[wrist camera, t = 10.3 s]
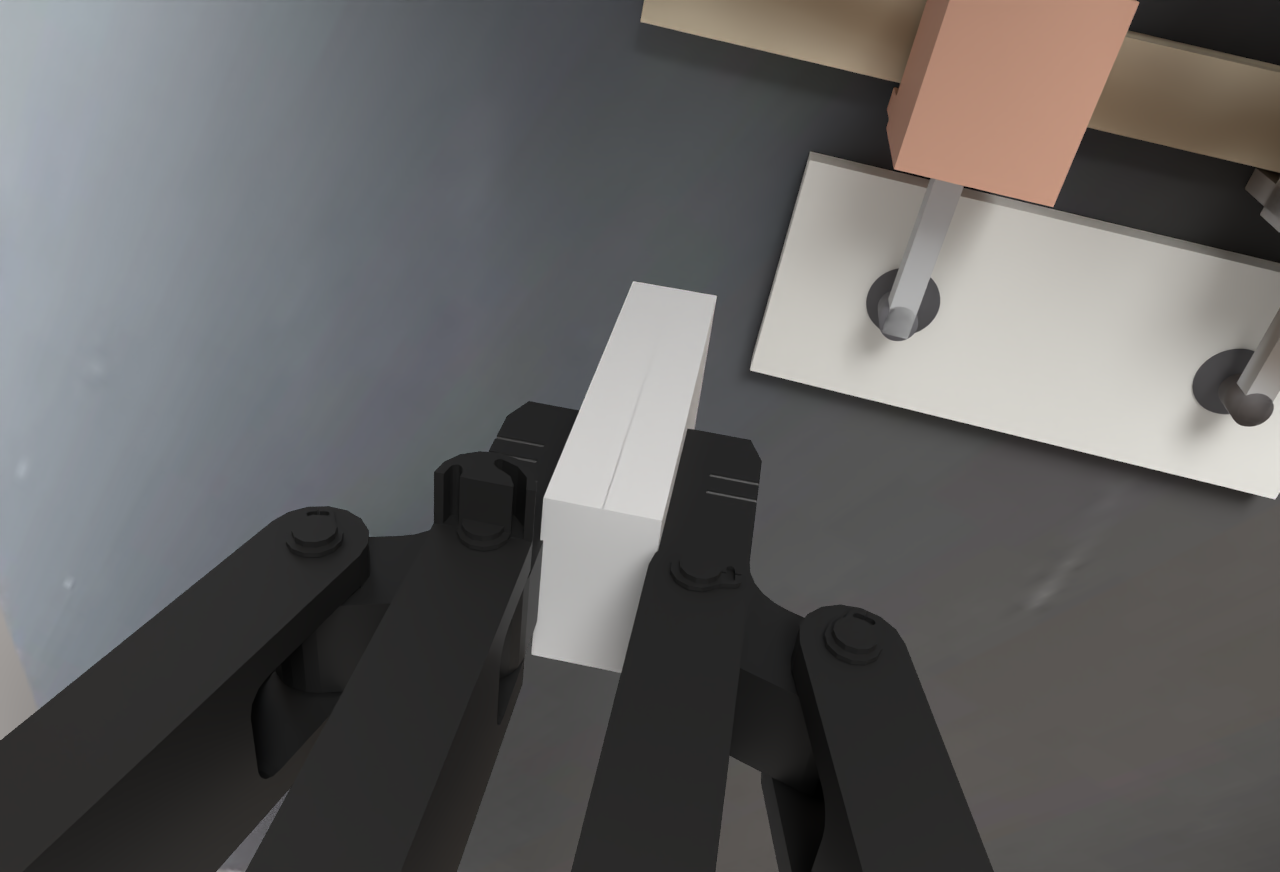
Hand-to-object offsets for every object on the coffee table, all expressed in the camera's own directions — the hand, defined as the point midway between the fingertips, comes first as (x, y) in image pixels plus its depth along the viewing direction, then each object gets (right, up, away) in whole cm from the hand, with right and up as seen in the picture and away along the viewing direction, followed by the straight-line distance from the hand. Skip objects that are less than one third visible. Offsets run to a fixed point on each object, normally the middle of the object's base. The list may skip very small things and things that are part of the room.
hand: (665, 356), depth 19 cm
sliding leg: (+11, +9, +19) cm, 24 cm away
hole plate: (+16, +3, +23) cm, 28 cm away
